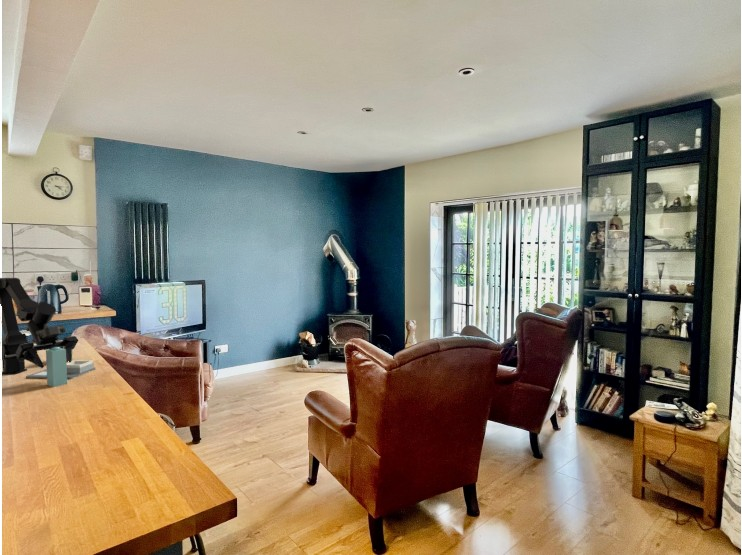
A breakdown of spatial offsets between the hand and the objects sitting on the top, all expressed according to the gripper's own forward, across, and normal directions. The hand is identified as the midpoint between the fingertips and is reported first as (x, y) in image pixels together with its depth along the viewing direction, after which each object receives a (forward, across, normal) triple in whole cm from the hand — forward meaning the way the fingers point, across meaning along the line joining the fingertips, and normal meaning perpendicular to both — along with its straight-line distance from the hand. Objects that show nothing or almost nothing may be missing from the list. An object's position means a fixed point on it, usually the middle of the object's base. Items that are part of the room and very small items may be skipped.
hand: (57, 364), depth 162 cm
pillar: (+5, 0, +6) cm, 8 cm away
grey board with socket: (-5, +8, +16) cm, 19 cm away
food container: (-20, +19, +30) cm, 41 cm away
